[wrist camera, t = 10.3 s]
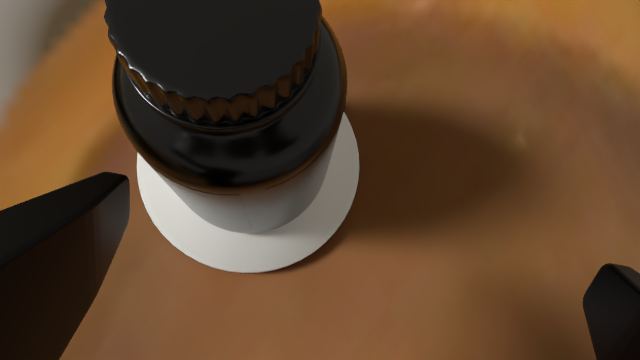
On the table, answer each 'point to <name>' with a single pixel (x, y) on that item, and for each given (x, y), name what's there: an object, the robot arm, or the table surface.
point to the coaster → (262, 247)
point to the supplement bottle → (230, 102)
